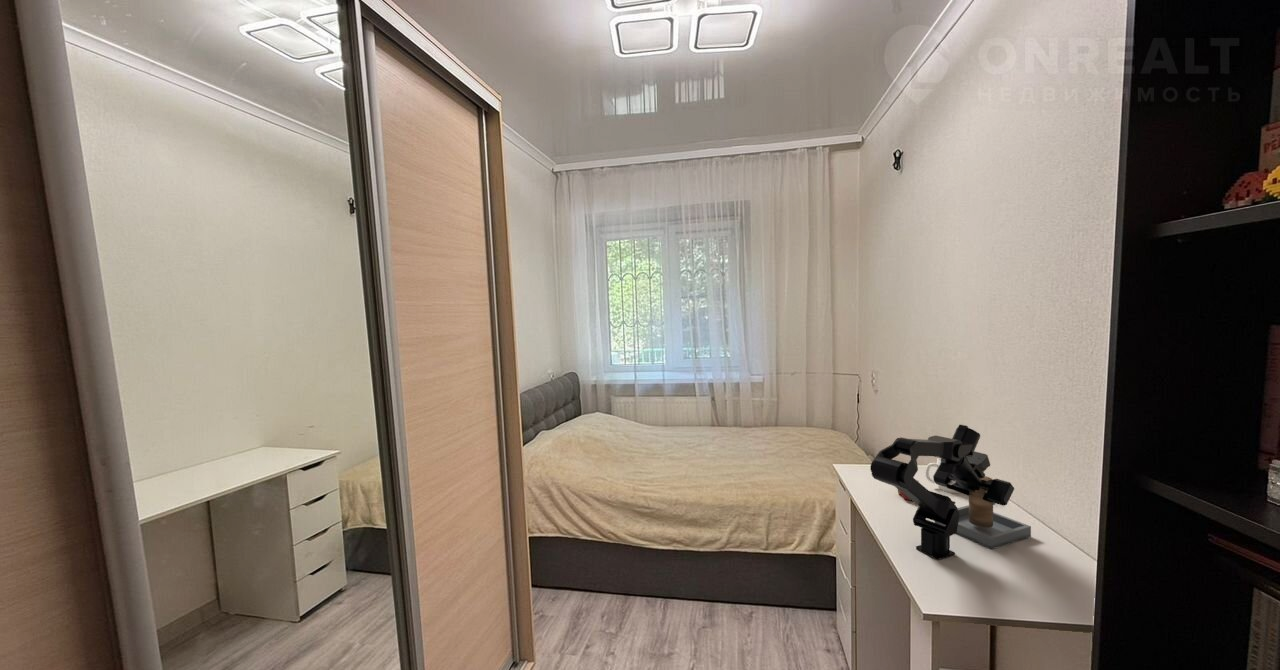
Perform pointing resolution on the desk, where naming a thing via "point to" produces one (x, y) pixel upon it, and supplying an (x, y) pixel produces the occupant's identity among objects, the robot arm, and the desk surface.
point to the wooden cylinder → (980, 508)
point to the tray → (991, 530)
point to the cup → (933, 480)
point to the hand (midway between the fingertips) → (983, 499)
